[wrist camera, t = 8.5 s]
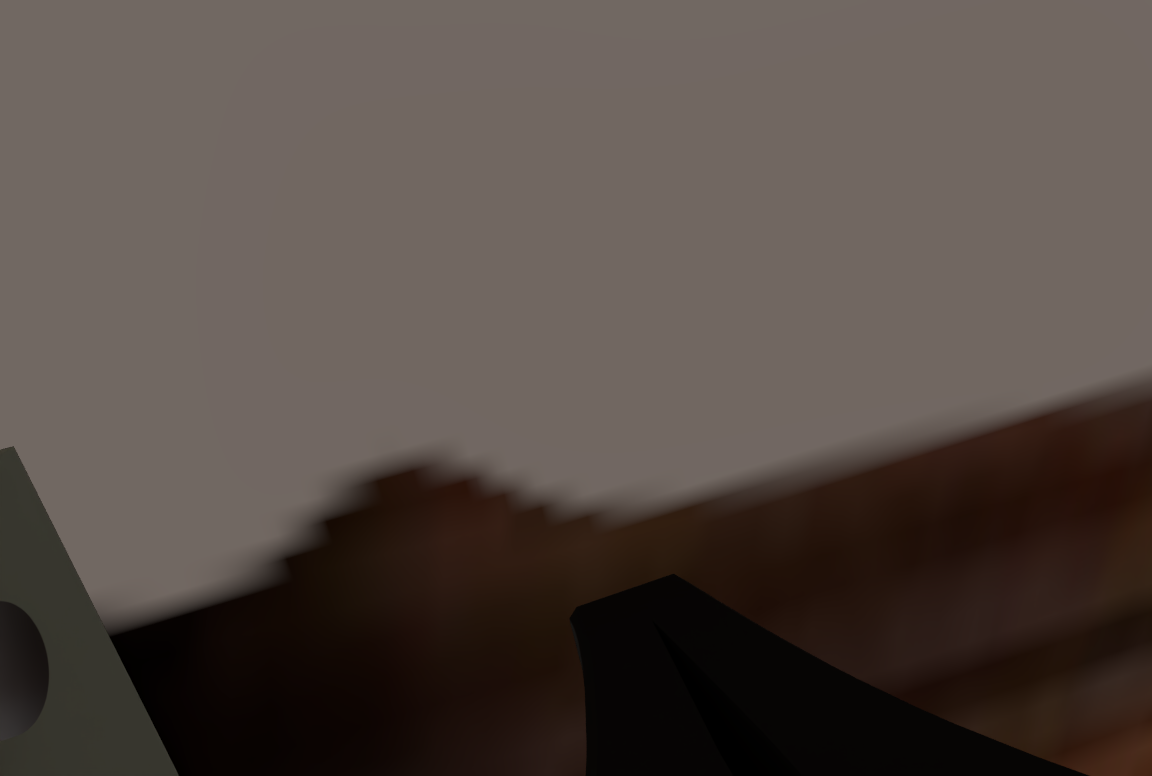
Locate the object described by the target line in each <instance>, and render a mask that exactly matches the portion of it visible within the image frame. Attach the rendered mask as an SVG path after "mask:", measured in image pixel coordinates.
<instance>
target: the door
mask: <svg viewBox="0 0 1152 776" xmlns="http://www.w3.org/2000/svg"><path fill="white" fill-rule="evenodd" d="M0 776H179V775H178V773H177V771H176V769H175V767H174V765H173V763H172V761H171V759H170V757H169V755H168V753H167V751H166V749H165V747H164V745H163V743H162V741H161V739H160V737H159V735H158V733H157V731H156V729H155V727H154V725H153V723H152V721H151V719H150V717H149V715H148V713H147V711H146V709H145V707H144V705H143V703H142V701H141V699H140V697H139V695H138V693H137V691H136V689H135V687H134V685H133V683H132V681H131V679H130V677H129V675H128V673H127V671H126V669H125V667H124V665H123V663H122V661H121V659H120V657H119V655H118V653H117V651H116V649H115V647H114V645H113V643H112V641H111V639H110V637H109V635H108V633H107V631H106V629H105V627H104V625H103V623H102V621H101V619H100V617H99V615H98V613H97V611H96V609H95V607H94V605H93V603H92V601H91V599H90V597H89V595H88V593H87V591H86V590H85V588H84V585H83V583H82V582H81V580H80V578H79V576H78V574H77V572H76V570H75V568H74V566H73V564H72V562H71V560H70V558H69V556H68V554H67V552H66V550H65V548H64V546H63V544H62V542H61V540H60V538H59V536H58V534H57V532H56V530H55V528H54V526H53V524H52V522H51V520H50V518H49V516H48V514H47V512H46V510H45V508H44V506H43V504H42V502H41V500H40V498H39V496H38V494H37V492H36V490H35V488H34V486H33V484H32V482H31V480H30V478H29V476H28V474H27V472H26V470H25V468H24V466H23V464H22V462H21V460H20V458H19V456H18V454H17V452H16V450H15V448H14V447H9V448H5V449H2V450H0Z"/></svg>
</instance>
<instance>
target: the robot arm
mask: <svg viewBox="0 0 1152 776" xmlns="http://www.w3.org/2000/svg"><path fill="white" fill-rule="evenodd" d="M570 623H571V627H572V631H573V634H574V638H575V642H576V646H577V650H578V654H579V658H580V662H581V666H582V670H583V676H584V686H585V706H586V735H587V762H586V776H1089V775H1086V774H1083V773H1080V772H1077V771H1075V770H1072V769H1069V768H1066V767H1064V766H1061V765H1058V764H1055V763H1052V762H1050V761H1047V760H1044V759H1042V758H1039V757H1036V756H1034V755H1031V754H1029V753H1026V752H1024V751H1021V750H1019V749H1016V748H1014V747H1011V746H1009V745H1006V744H1004V743H1001V742H999V741H996V740H994V739H991V738H989V737H986V736H984V735H981V734H979V733H976V732H974V731H971V730H969V729H966V728H964V727H961V726H959V725H956V724H954V723H951V722H949V721H947V720H945V719H942V718H940V717H938V716H935V715H933V714H931V713H928V712H926V711H924V710H922V709H919V708H917V707H915V706H913V705H911V704H909V703H907V702H904V701H902V700H900V699H898V698H896V697H894V696H892V695H890V694H888V693H886V692H884V691H881V690H879V689H877V688H875V687H873V686H871V685H869V684H867V683H865V682H863V681H861V680H858V679H856V678H855V677H853V676H851V675H849V674H847V673H845V672H843V671H841V670H839V669H837V668H835V667H833V666H831V665H830V664H828V663H826V662H824V661H822V660H820V659H819V658H817V657H815V656H813V655H811V654H809V653H808V652H806V651H804V650H802V649H800V648H799V647H797V646H795V645H793V644H791V643H789V642H788V641H786V640H784V639H782V638H780V637H779V636H777V635H775V634H773V633H772V632H770V631H768V630H766V629H765V628H763V627H761V626H760V625H758V624H756V623H755V622H753V621H751V620H750V619H748V618H746V617H744V616H743V615H741V614H739V613H738V612H736V611H734V610H733V609H731V608H730V607H728V606H726V605H725V604H723V603H721V602H720V601H718V600H716V599H715V598H713V597H712V596H710V595H708V594H707V593H705V592H703V591H702V590H700V589H699V588H697V587H695V586H694V585H692V584H690V583H689V582H687V581H685V580H684V579H682V578H680V577H678V576H677V575H675V574H672V575H669V576H666V577H663V578H660V579H657V580H654V581H651V582H648V583H645V584H642V585H640V586H637V587H634V588H631V589H628V590H625V591H622V592H619V593H616V594H613V595H611V596H608V597H605V598H602V599H599V600H596V601H593V602H590V603H587V604H584V605H581V606H579V607H576V609H575V611H574V612H573V614H572V615H571V617H570Z"/></svg>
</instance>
